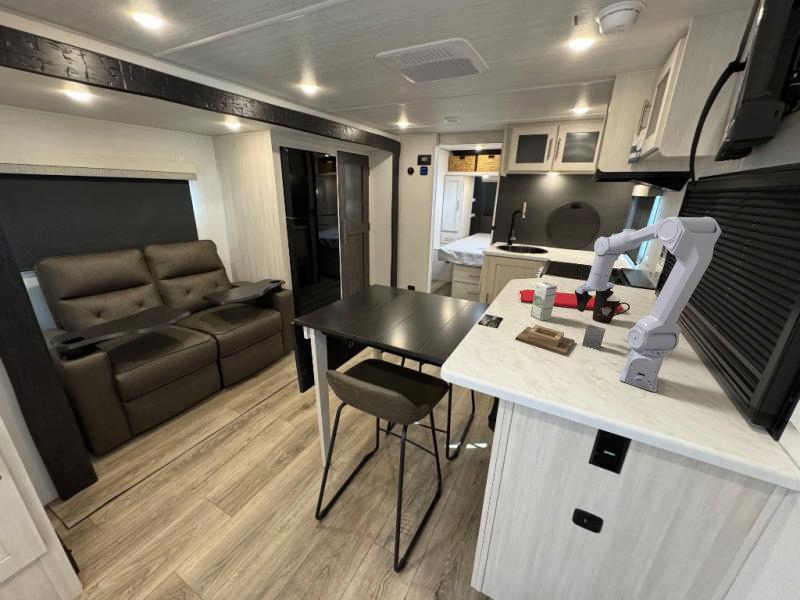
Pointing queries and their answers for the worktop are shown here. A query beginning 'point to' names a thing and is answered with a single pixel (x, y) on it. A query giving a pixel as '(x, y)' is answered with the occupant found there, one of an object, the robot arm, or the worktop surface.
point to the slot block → (546, 339)
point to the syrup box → (543, 300)
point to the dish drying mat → (560, 299)
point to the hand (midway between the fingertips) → (588, 309)
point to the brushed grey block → (593, 337)
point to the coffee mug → (608, 310)
